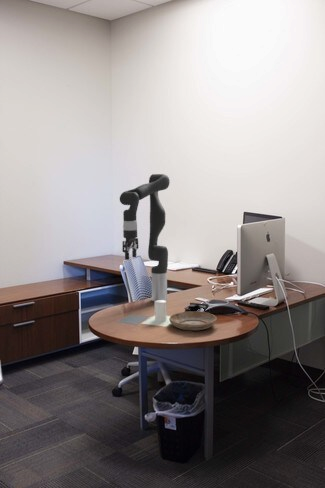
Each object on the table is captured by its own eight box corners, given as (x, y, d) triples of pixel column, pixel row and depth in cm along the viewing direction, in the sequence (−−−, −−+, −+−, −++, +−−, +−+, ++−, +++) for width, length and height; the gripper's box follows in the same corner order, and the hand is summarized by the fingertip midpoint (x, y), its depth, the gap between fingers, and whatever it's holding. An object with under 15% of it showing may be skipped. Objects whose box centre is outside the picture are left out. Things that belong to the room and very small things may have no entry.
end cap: (209, 315, 277) (209, 303, 276) (205, 318, 270) (205, 306, 269) (191, 313, 281) (191, 301, 280) (187, 316, 274) (187, 304, 273)
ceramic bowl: (187, 317, 273) (187, 308, 272) (225, 325, 258) (225, 316, 258) (160, 328, 255) (160, 318, 254) (199, 337, 240) (199, 327, 240)
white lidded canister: (157, 318, 271) (157, 299, 270) (168, 319, 269) (168, 300, 267) (153, 321, 266) (152, 302, 264) (163, 322, 263) (163, 303, 262)
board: (155, 315, 278) (155, 314, 278) (179, 317, 272) (179, 317, 272) (141, 324, 262) (141, 323, 262) (166, 327, 256) (166, 326, 256)
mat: (130, 314, 279) (130, 314, 279) (150, 317, 274) (150, 316, 274) (115, 323, 264) (115, 322, 264) (136, 325, 260) (136, 324, 259)
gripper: (130, 230, 270) (130, 261, 273) (142, 227, 283) (142, 256, 286) (117, 230, 273) (118, 260, 276) (130, 227, 286) (130, 256, 289)
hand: (130, 258), depth 281 cm, fingers open, 8 cm apart
